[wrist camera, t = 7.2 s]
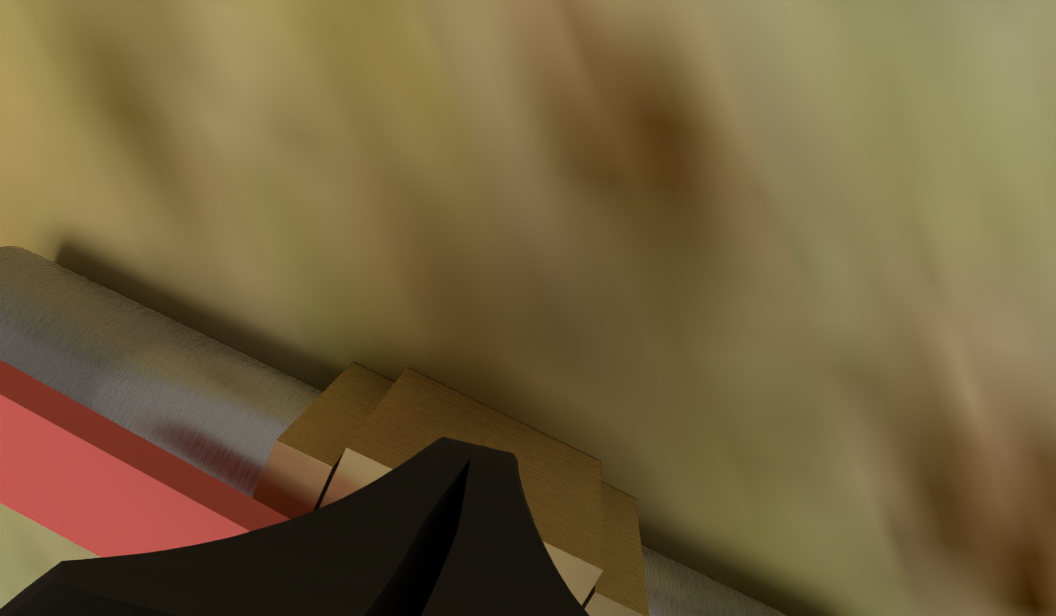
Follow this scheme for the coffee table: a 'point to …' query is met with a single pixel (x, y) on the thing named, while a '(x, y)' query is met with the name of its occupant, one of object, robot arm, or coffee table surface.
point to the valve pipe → (325, 432)
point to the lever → (107, 478)
